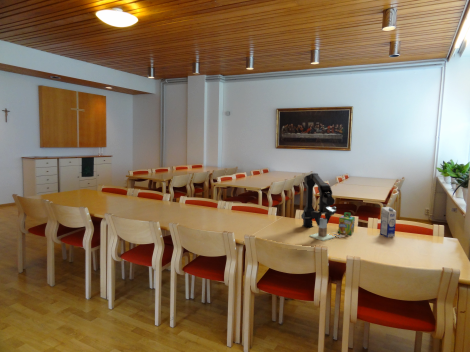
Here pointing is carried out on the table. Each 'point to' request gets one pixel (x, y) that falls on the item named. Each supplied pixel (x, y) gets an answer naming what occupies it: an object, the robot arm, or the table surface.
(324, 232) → the walnut block
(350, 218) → the chalk box
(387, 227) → the milk carton
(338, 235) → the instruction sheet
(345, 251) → the table surface
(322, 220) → the gray block
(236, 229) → the table surface
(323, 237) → the plate
